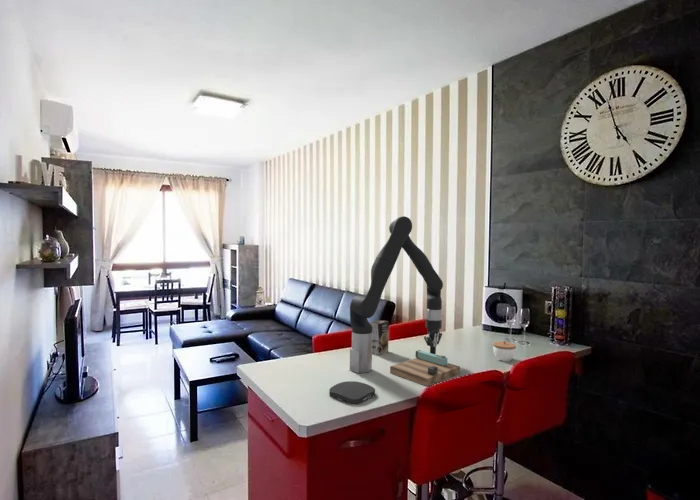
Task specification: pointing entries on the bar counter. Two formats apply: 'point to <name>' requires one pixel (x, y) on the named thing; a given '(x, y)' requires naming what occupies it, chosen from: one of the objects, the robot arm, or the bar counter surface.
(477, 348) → the bar counter surface
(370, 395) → the media streaming box
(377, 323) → the coffee box
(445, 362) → the folding leg
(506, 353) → the lidded jar
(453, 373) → the wooden board
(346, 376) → the bar counter surface
